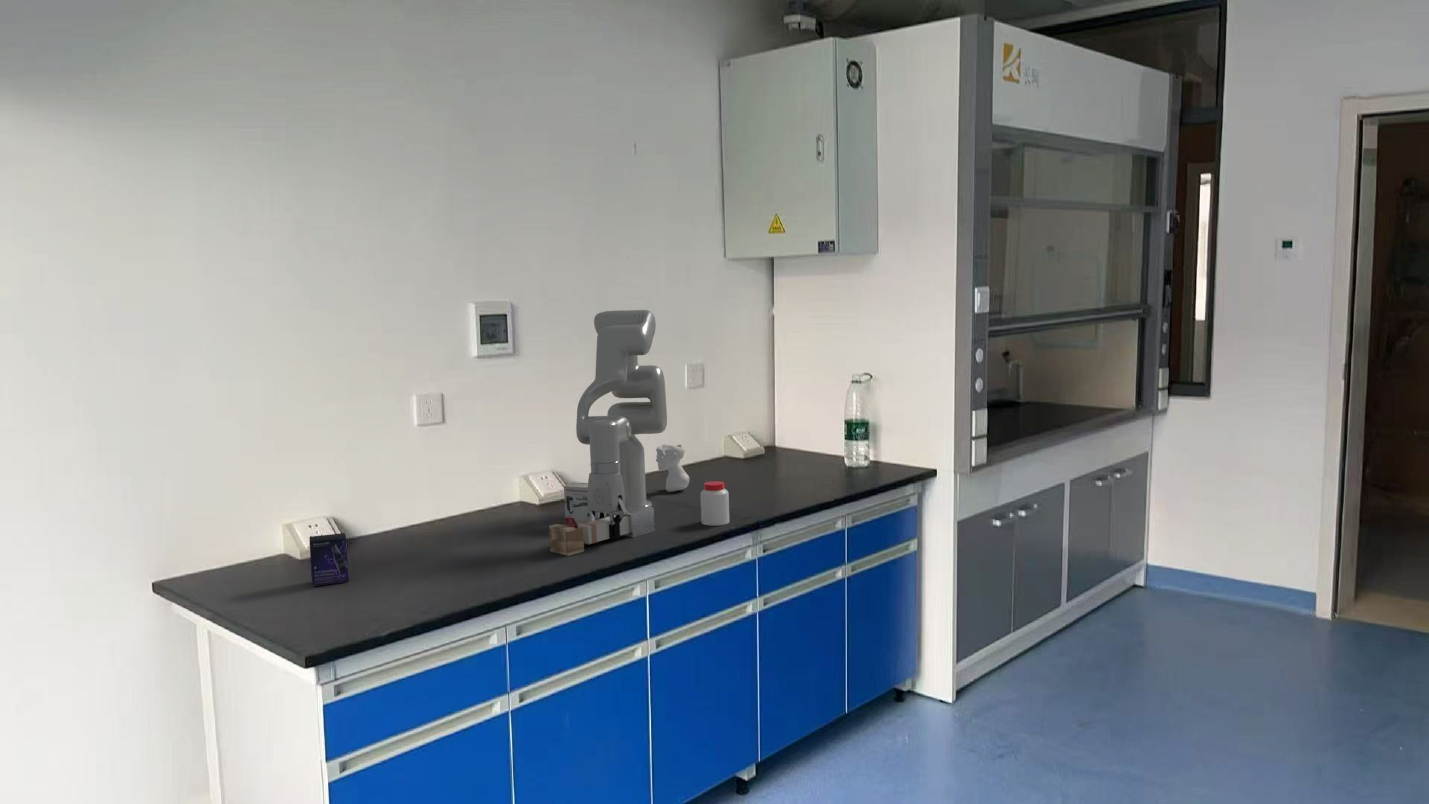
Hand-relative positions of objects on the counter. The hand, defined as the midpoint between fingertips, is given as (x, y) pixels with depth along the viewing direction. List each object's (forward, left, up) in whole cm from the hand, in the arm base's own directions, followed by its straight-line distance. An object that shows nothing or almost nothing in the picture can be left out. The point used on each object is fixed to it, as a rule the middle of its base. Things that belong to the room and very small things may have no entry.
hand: (608, 536), depth 262 cm
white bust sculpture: (-30, +55, -1) cm, 62 cm away
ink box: (-18, +7, -1) cm, 19 cm away
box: (-25, -63, -1) cm, 68 cm away
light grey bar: (0, +3, -1) cm, 3 cm away
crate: (0, -14, -1) cm, 14 cm away
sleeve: (0, +10, -1) cm, 10 cm away
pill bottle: (+10, +31, -1) cm, 32 cm away
